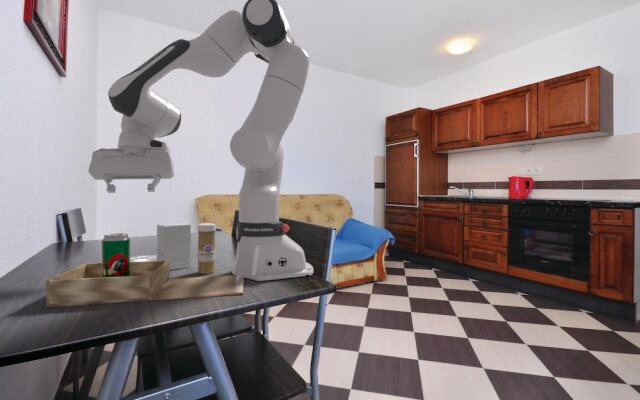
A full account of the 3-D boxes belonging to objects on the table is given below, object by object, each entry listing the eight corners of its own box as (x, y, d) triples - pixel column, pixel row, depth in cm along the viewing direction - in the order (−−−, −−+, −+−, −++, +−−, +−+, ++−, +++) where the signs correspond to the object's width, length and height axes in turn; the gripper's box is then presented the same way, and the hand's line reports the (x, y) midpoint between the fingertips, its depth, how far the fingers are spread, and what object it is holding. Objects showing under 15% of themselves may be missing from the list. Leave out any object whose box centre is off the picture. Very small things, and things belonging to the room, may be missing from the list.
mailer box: (243, 276, 78) (243, 257, 78) (243, 294, 64) (243, 271, 64) (85, 284, 69) (85, 263, 69) (46, 307, 56) (46, 280, 55)
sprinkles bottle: (202, 275, 78) (202, 225, 78) (194, 272, 81) (195, 223, 81) (218, 272, 81) (218, 224, 81) (210, 269, 85) (210, 222, 84)
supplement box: (191, 267, 87) (191, 224, 86) (164, 271, 81) (164, 226, 81) (182, 262, 92) (182, 222, 92) (156, 266, 87) (156, 223, 86)
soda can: (135, 286, 67) (135, 233, 66) (116, 294, 62) (116, 236, 61) (115, 285, 67) (115, 232, 67) (95, 292, 62) (95, 235, 62)
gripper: (88, 141, 79) (79, 186, 73) (172, 143, 85) (170, 184, 80) (98, 155, 85) (90, 198, 79) (176, 155, 91) (174, 195, 85)
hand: (131, 191), depth 79 cm, fingers open, 8 cm apart
